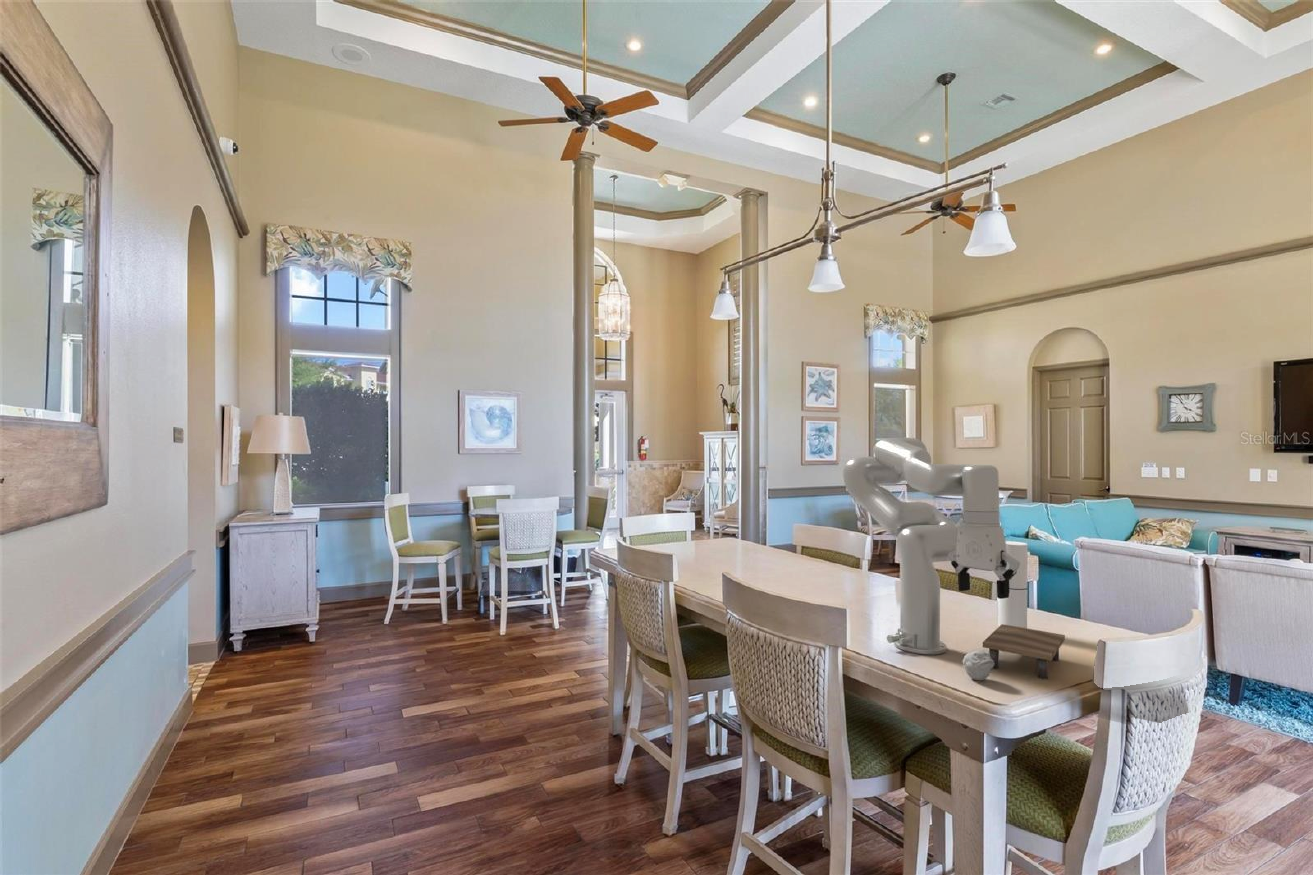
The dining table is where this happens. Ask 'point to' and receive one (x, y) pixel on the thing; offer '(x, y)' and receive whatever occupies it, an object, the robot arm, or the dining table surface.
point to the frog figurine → (978, 664)
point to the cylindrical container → (1015, 589)
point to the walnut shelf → (1025, 645)
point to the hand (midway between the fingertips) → (983, 594)
